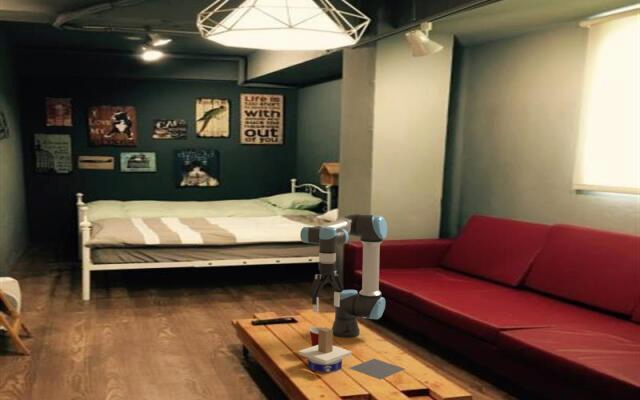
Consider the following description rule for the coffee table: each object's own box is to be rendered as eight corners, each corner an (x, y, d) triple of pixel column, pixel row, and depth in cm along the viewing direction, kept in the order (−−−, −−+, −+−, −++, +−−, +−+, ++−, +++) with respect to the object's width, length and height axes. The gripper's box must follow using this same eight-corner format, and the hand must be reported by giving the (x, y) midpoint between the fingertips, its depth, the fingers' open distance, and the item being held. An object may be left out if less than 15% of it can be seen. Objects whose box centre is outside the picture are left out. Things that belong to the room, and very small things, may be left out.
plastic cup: (334, 356, 274) (334, 331, 273) (312, 358, 271) (313, 333, 270) (326, 349, 284) (327, 325, 283) (305, 351, 281) (306, 326, 280)
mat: (374, 359, 271) (374, 358, 271) (405, 370, 258) (405, 368, 258) (348, 369, 258) (348, 368, 258) (380, 380, 245) (380, 379, 245)
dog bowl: (316, 376, 250) (316, 362, 249) (302, 364, 264) (302, 351, 263) (347, 371, 256) (347, 358, 256) (332, 360, 270) (332, 347, 270)
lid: (324, 345, 272) (325, 321, 271) (351, 354, 260) (352, 329, 259) (298, 354, 259) (298, 329, 258) (326, 364, 248) (326, 337, 247)
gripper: (339, 257, 268) (338, 302, 270) (301, 264, 250) (300, 312, 252) (352, 259, 263) (351, 305, 265) (313, 266, 245) (312, 315, 247)
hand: (326, 308), depth 258 cm, fingers open, 13 cm apart
